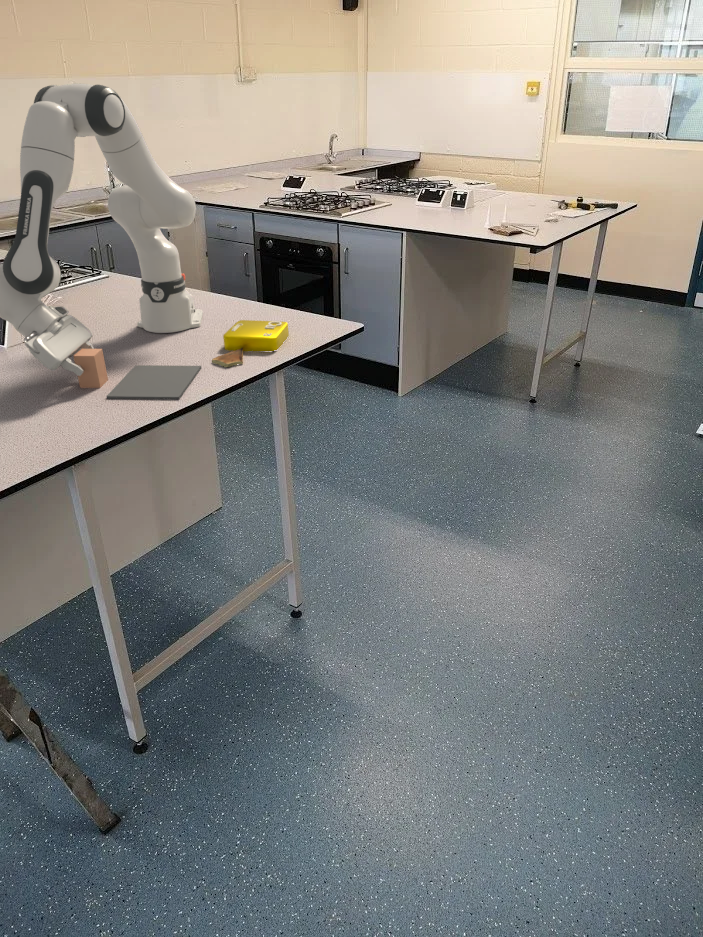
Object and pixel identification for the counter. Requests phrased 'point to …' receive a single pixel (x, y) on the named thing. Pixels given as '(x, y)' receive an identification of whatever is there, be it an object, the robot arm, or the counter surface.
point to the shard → (229, 358)
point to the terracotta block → (91, 368)
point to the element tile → (256, 335)
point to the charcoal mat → (155, 382)
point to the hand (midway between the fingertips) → (90, 366)
